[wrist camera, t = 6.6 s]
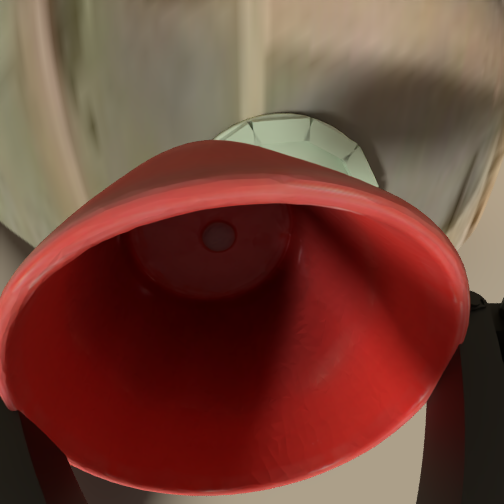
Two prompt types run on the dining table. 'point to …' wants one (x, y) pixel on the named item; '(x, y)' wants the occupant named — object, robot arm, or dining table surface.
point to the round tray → (303, 142)
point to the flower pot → (230, 322)
